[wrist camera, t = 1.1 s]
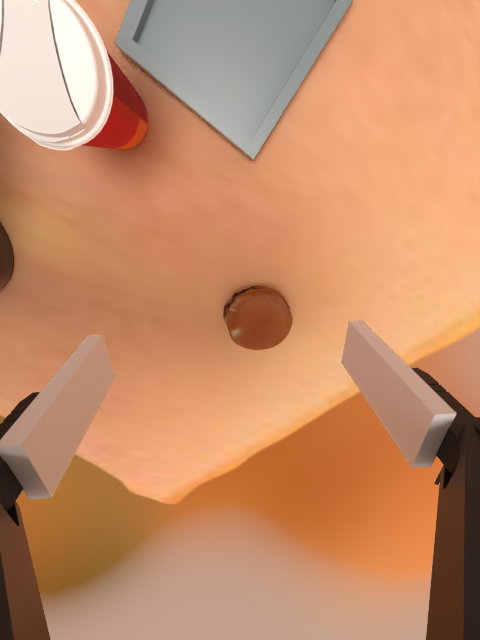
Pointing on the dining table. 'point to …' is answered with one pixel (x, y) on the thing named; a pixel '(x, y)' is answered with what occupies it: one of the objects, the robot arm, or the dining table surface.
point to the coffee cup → (64, 79)
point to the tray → (230, 56)
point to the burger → (258, 318)
